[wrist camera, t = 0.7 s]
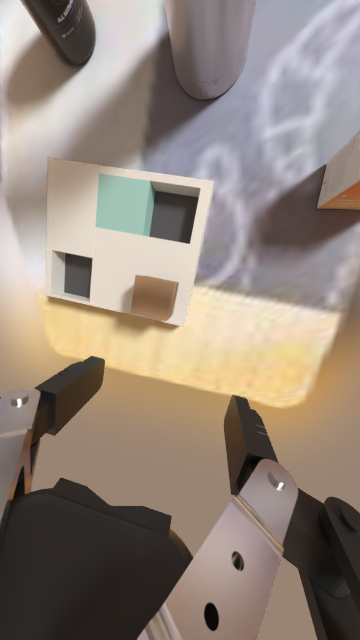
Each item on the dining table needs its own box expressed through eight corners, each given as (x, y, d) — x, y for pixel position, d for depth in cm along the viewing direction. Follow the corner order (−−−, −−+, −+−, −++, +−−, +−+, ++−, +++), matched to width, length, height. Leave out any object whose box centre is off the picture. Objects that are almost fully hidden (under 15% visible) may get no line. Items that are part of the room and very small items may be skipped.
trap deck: (63, 169, 28) (47, 157, 25) (213, 192, 26) (213, 181, 23) (59, 293, 33) (45, 295, 30) (185, 322, 31) (183, 326, 28)
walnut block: (146, 275, 27) (135, 274, 23) (179, 282, 26) (173, 282, 22) (142, 307, 28) (130, 312, 24) (172, 314, 28) (166, 320, 23)
